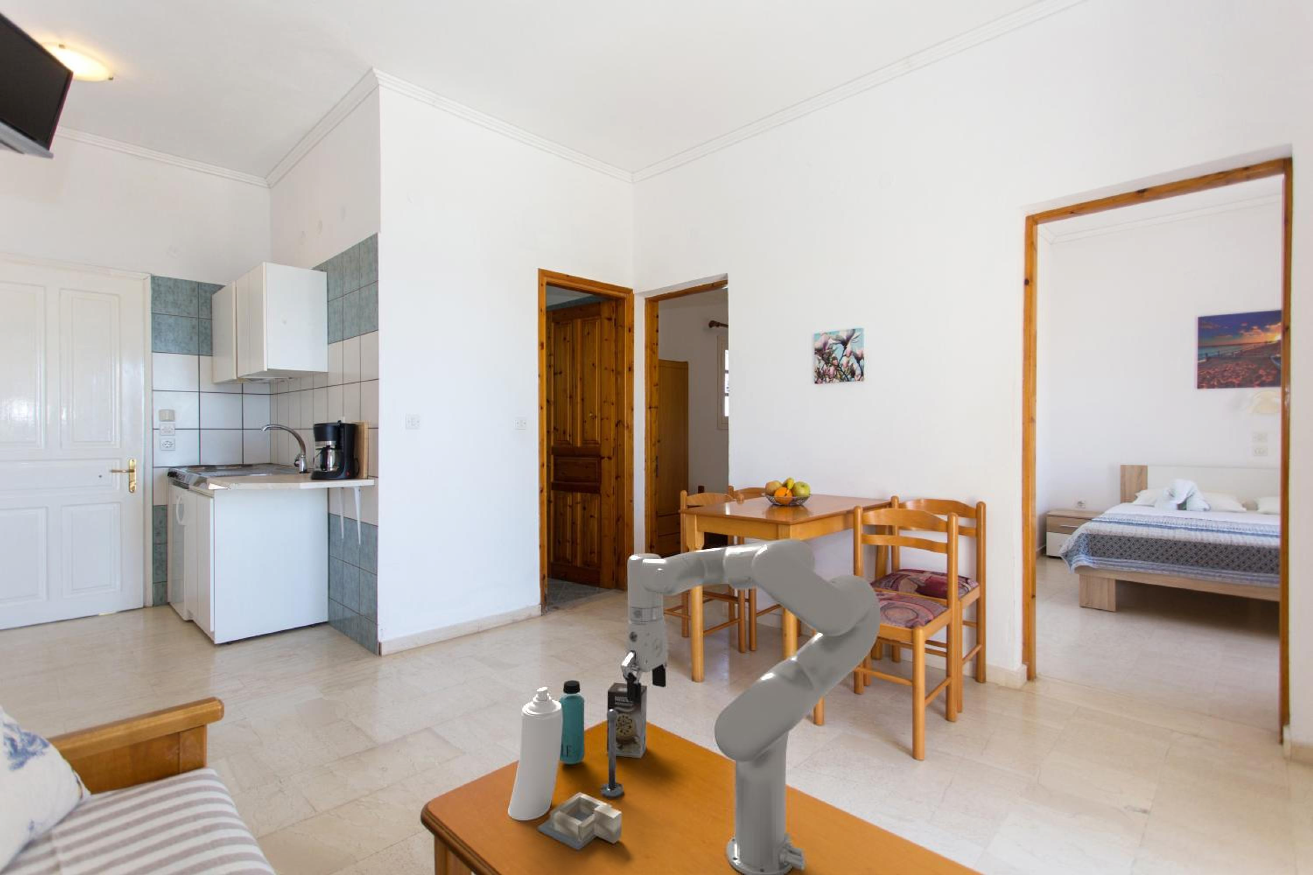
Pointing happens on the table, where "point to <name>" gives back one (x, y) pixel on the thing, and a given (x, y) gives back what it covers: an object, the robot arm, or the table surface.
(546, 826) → the mat
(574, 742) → the beverage bottle
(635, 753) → the coffee box
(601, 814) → the cream square frame
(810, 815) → the table surface
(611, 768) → the stand
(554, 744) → the spray can
